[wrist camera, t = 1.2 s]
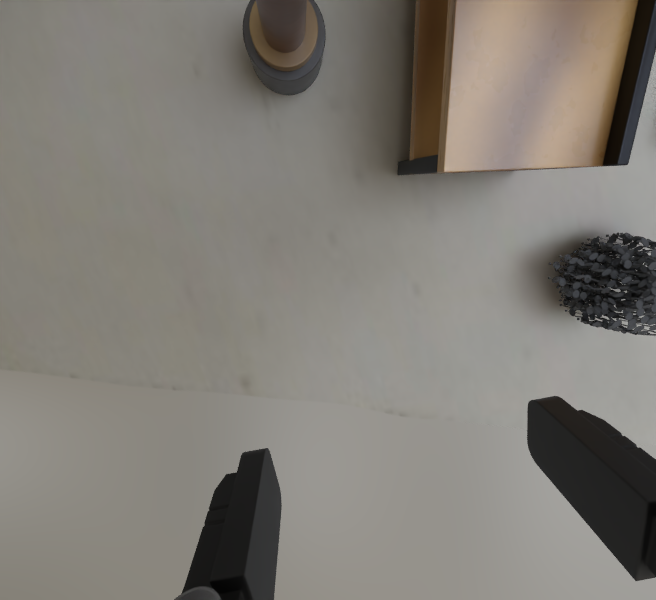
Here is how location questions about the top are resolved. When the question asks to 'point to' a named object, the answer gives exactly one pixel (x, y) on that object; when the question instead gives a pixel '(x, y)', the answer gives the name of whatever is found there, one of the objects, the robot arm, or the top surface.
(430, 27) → the tan black-edged stand
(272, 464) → the robot arm
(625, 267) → the massage brush
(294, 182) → the top surface
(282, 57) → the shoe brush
